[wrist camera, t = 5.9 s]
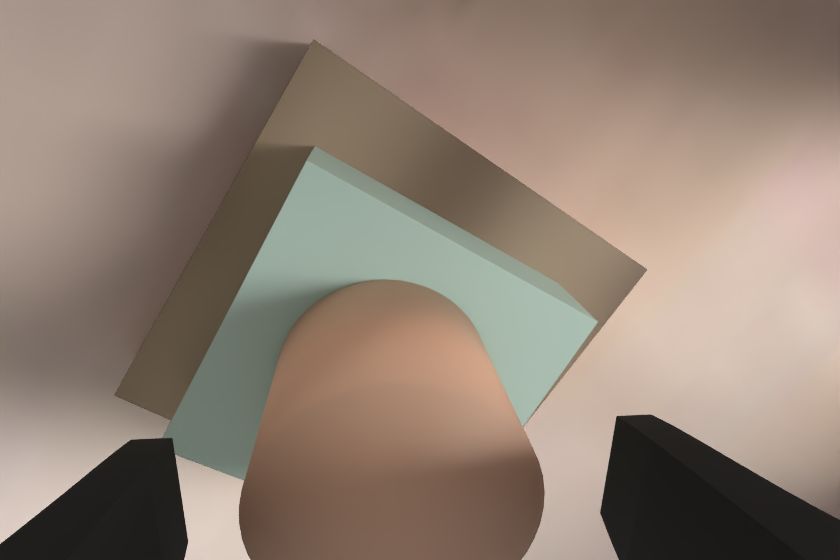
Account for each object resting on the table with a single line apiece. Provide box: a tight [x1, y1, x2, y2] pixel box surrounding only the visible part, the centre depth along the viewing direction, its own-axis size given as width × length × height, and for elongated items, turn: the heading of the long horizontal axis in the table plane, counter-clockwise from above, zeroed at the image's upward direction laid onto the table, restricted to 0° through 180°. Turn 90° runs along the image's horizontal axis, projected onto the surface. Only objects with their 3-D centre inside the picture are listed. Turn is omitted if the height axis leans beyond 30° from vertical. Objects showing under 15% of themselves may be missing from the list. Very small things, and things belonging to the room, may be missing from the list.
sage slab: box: [163, 146, 598, 480], centre depth 13 cm, size 7×7×2 cm
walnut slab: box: [115, 39, 647, 427], centre depth 15 cm, size 10×10×2 cm
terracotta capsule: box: [239, 280, 544, 560], centre depth 10 cm, size 4×4×4 cm
